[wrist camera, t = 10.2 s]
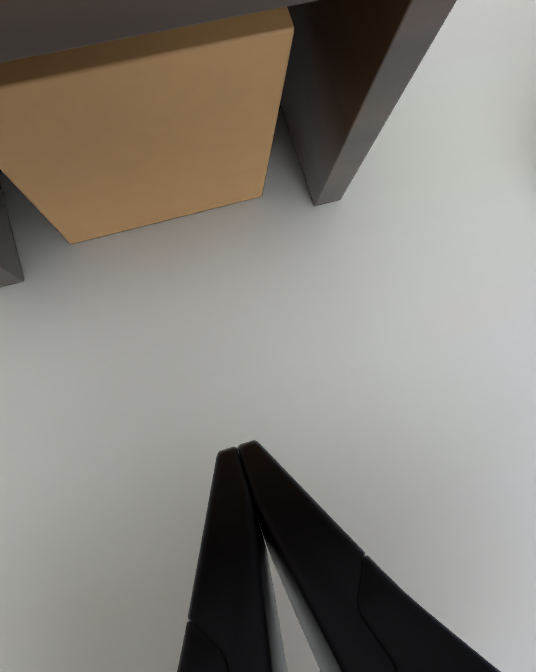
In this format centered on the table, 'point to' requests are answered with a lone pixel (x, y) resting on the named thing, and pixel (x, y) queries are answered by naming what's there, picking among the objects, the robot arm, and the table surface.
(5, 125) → the box
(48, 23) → the shelf
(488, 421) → the table surface
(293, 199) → the table surface
